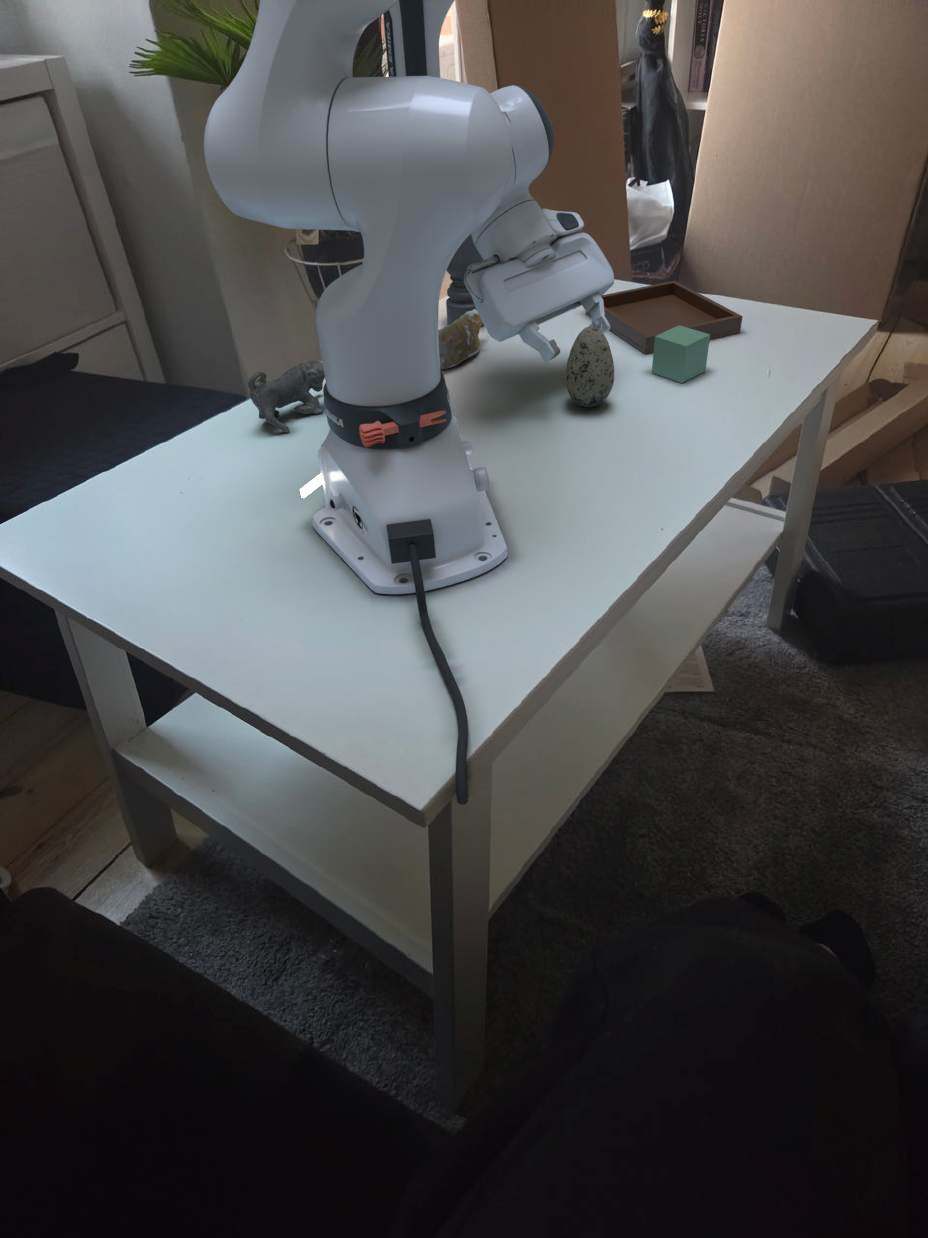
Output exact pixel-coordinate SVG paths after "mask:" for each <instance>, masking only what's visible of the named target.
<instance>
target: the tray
mask: <svg viewBox="0 0 928 1238" xmlns="http://www.w3.org/2000/svg"><path fill="white" fill-rule="evenodd" d="M601 297H602V299H603V302H604V312H605V315H604V316H605V317H606V319H607V321H608V322H609V324H610V329H609V330H608V331H610V332H611V333H613V334H614V335H616V336H617V337H618V338H620V339H622V340H623V341H624V342H626V343H628V344H629V345H631V346H632V347H633V348H635V349H637V350H638V351H640V352H641V353H642V354H644V355H648V354H652V353H654V342H655V336H657V335H659V334H661V333H663V332H666V331H668V330H670V329H672V328H674V327H676V326H678V325H680V326H683V327H686V328H690V329H693V330H697V331H700V332H703V333H707V334H710V340H713V339H718V338H723V337H727V336H732V335H736V334H740V333H741V330H742V329H741V328H742V324H743V315H741V314H739V313H737V312H735V311H734V310H731V309H729V308H728V307H726V306H724V305H722V304H721V303H718V302H716V301H715V300H712V299H711V298H708V297H707V296H705V295H703V294H701V293H699V292H698V291H695V289H692V288H689V287H688V286H686V285H684V284H682V283H680V282H678V281H676V280H670V281H666V282H661V283H655V284H651V285H646V286H641V287H635V288H631V289H627V290H621V291H616V292H611V293H606V294H603V295H602V296H601ZM585 315H586V316H588V317H589V318H591V315H590V311H588V312H586V311H585Z"/></svg>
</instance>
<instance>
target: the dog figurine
mask: <svg viewBox="0 0 928 1238" xmlns="http://www.w3.org/2000/svg"><path fill="white" fill-rule="evenodd" d="M324 380H325V375H324V369H323V363H322V361H317V360H307V361H305V362H300V363H298V364H297V365H295V366H293V367H291V368H289V369H287V370H286V371H284V373H282V374H281V375H280V377H278V378H276V379H274V380H267V373H265V372H263V371H258V372H255V373H254V374H252V375H251V376H250V377H249V380H248V382H247V385H248V388H249V397H250V399H251V402H252V403H253V404H254V406H255V407H256V408H257V410H258V419H260V420H265V421H266V422H267V423H268V424H271V425H272V426H273V427H274V428H276V429H277V430H280V431H282V432H283V433H289V432H290V431H291V430H290V428H289V426H287V425H286V424H284V423H282V422H281V421H280V420H278V419H277V418H276V417H277V416H278V415H279V414H280V411H279V410H277V409H282V408H285V407H286V406H288V405H291V404H294V403H296V402H301V404H298V405H296V406H295V407H294V408H293V411H295V412H297V413H299V414H303V415H309V414H315V415H318V414H321V413H322V412H323V409H321V408H320V405H321V402H320V400H319V399H318V398H316V397H315V396H314V395H312V393H310V390H311V389H312V390H313V391H315V392H316V393H318V392H319V393H320V392H321V391H323V387H324V384H323V383H324Z"/></svg>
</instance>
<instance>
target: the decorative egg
mask: <svg viewBox="0 0 928 1238" xmlns="http://www.w3.org/2000/svg"><path fill="white" fill-rule="evenodd" d="M613 357H614V356H613V354H612V349H611V346H610V343H609V341H608V338H607V337H606V335H605V334H603V332H602V331H601V330H600V329H599V328H597V327H595V326H590V325H588V326H586V327H584V328H583V329H582V330H581V331H580V332H579V333H578V334H577V337H576V338H575V340H574V342H573V343H572V346H571V348H570V352H569V354H568V358H567V362H566V365H565V375H564V380H565V381H564V382H565V387H566V391H567V393H568V395H569V397H570V399H571V400H572V401H573V402H574V403H575V404H576V405H579V406H581V407H584V408H593V407H597V406H599V405H600V404H602V403H603V402H604V401H606V399H607V398H608V397H609V395H610V394H611V392H612V390H613V386H614V381H615V363H614V358H613Z"/></svg>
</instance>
